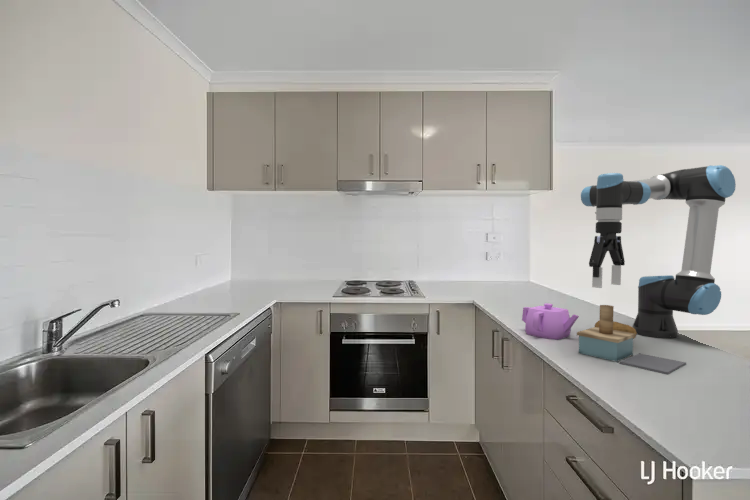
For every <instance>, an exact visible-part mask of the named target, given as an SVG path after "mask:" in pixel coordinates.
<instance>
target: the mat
mask: <svg viewBox="0 0 750 500" xmlns="http://www.w3.org/2000/svg"><path fill="white" fill-rule="evenodd" d="M619 364H620V365H626V366H629V367H633V368H637V367H638V369H643V370H646V369H647V370H646V371H652V372H655V373H659V374H660V373H661V374H664V375H669V374H671V373H674V372H675V371H677V370H679V369H680V368H683V367H684V366H686V365H687V362H686V361H681V360H676V359H672V358H671V359H670V358H665V357H660V356H655V355H650V354H646V353H640V352H639V353H636V354H633V355H631V356H628V357H626V358H624V359H621V360H619Z"/></svg>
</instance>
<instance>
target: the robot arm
mask: <svg viewBox="0 0 750 500" xmlns="http://www.w3.org/2000/svg"><path fill="white" fill-rule="evenodd" d="M596 179H597V182H596V185H590V186H585V187H583V189H582V190H581V192H580V200H581V203H582V205H584V206H586V207H593V208H594V207H596V209H595V212H594V213H595V220H596V221H597V222H595V233H596V234H600V235H595V236H594V239H593V240H594V241H593V246H592V250H591V254H590V258H589V262H588V265H589V266H588V267H590V268H592V281H591V288H598V289H602V288H603V267H602V265H603V263H604V260H605V257H606V255H607V253H608V254H609V257H610V259H611V262H612V265H611V276H610V277H611V279H610V281H611V283H610V285H615V286H621V285H622V284H621V281H622V279H621V278H622V266H625V262H626V261H625V256H624V251H623V250H624V249H623V246H622V236H621V235H617V234H621V233H622V232H623V231H622V230H623V229H622V226H623V225H622V224H623V223H622V222H621V221H622V220H623V206H624V205H633V206H638V205H642V204H645V203H646V202H648V201H649V200H650V199H653V200H656V201H660V200H675V201H677V200H678V201H682V200H683V201H684V200H685V204H686V205H687V206H688V207H689V210H688V217H687V226H686V227H687V228H686V231H685V239H684V247H683V257H682V264H681V270H680V271H679V272H677V273H676V274H675V276H674V275H667V274H666V275H648V276H647V275H646V276H641V277H640V278H639V279H638V286H637V289H638V290H637V291H638V292H637V293H638V297H637V298H638V299H637V300H638V301H637V314H636V316H635V319H634V321H633V323H632V327H633V328H634V329H635V330H636V332H637V334H636V335H639V334H640V336H644V335H645V336H644V337H649V338H658V339H659V338H663V339H673V338H677V337H678V336H679V334H678V327H677V324H676V321H675V318H674V311H675V312H681V313H687V314H691V315H699V316H708V315H710V314H712V313H713V312H714V311H716V310H717V308H718V307H719V305H720V302H721V300H722V291H721V288H720V286H719V285H718V284H716V283H715V281H716V280H715V278H714V276H712V274H711V270H712V265H713V263H712V262H713V255H714V247H715V240H716V231H717V224H718V217H719V209H720V208H721V207H723V206H724V205H725V204H726V199H727V198H730V197H732V196H733V195H734V193H735V191H736V178H735V176H734V174H733V172H732V171H731V169H730V168H728V167H727V166H726V165H720V164H719V165H707V166H700V167H694V168H693V167H692V168H684V169H677V170H673V171H670V172H666V173H661V174H656V175H655V174H654V175H652V177H650V178H645V179H637V180H626V181H625V179H624V175H623V174H622V173H619V172H609V173H608V172H607V173H601V174H599V175H598V177H597V178H596Z"/></svg>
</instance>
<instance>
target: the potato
mask: <svg viewBox="0 0 750 500" xmlns="http://www.w3.org/2000/svg"><path fill="white" fill-rule="evenodd" d="M594 327H599V320H598V321H596V322H595V323H594ZM613 330H617V331H623V332H628V333H634V334H636V336H635V337H633V340H634V339H635V338H636V337H637V335H638V334H637V332H636V330H635V329H634V328H633V326H631V325H629V324H625V323H621V322H618V321H614V320H613Z"/></svg>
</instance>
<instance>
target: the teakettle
mask: <svg viewBox="0 0 750 500" xmlns="http://www.w3.org/2000/svg"><path fill="white" fill-rule="evenodd" d="M579 317H580V316H579V315H576V314H572V315H571V317H570V312H569V309H567V308H561V307H556V306H555V307H554V305H553V303H549V302H548V303H546V302H545V303H543V305H537V306H532V307H531V306H530V307H529V306H523V307H522V316H521V321H522V322H524V323H525V327H524V329H525V330H524V331H525V333H526V335H529V336H533V337H538V338H543V339H549V340H553V341H554V340H557V341H558V340H562V339H565V338H568V337H570V335H571V331H572V327H573V326H574V324H575V323H576V321H577V320H578V318H579Z"/></svg>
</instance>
